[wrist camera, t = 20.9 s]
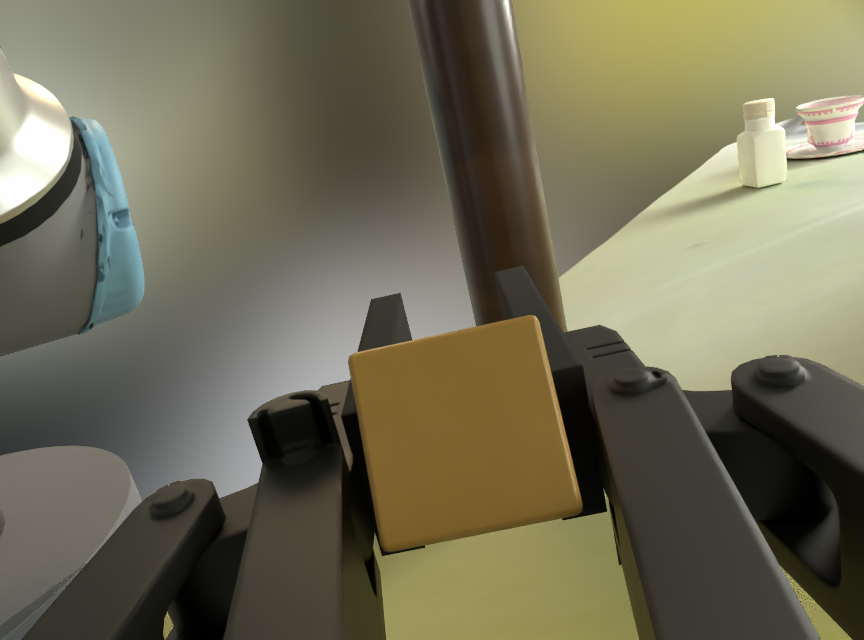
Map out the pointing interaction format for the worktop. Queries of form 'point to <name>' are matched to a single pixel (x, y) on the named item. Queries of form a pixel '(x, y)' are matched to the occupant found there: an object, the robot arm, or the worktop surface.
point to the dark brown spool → (486, 146)
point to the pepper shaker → (761, 146)
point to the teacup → (829, 128)
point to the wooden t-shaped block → (463, 434)
